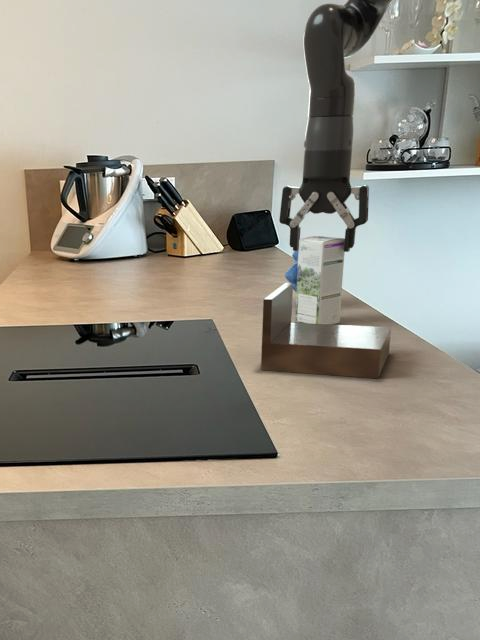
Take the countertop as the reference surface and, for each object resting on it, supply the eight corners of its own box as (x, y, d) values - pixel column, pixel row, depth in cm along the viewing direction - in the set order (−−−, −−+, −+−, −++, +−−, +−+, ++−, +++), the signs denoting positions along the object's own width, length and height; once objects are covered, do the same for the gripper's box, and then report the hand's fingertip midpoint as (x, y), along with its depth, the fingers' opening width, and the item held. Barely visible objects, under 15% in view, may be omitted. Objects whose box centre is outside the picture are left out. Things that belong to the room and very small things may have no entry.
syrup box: (340, 323, 138) (347, 237, 132) (317, 328, 135) (323, 240, 129) (316, 318, 142) (322, 234, 136) (293, 322, 139) (297, 238, 134)
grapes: (273, 301, 158) (275, 239, 154) (305, 299, 159) (308, 238, 154) (293, 312, 148) (296, 246, 143) (327, 310, 148) (332, 244, 144)
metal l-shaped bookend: (388, 353, 117) (395, 286, 113) (378, 378, 106) (385, 303, 102) (282, 347, 123) (285, 282, 119) (260, 370, 111) (263, 299, 108)
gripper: (376, 146, 128) (367, 249, 134) (289, 148, 133) (284, 247, 139) (370, 146, 121) (361, 254, 128) (279, 149, 127) (274, 252, 133)
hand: (320, 250), depth 134 cm, fingers open, 8 cm apart
